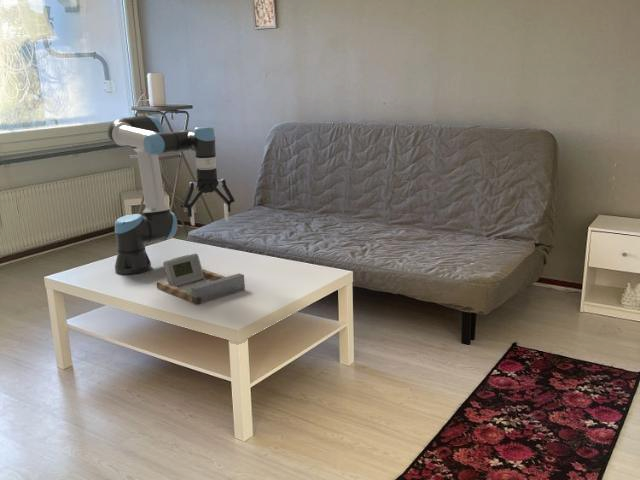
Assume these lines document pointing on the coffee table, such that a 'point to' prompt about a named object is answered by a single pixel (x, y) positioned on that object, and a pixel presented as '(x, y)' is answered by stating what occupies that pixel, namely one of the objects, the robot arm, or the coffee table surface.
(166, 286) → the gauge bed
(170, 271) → the digital clock
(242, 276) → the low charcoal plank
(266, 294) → the coffee table surface
